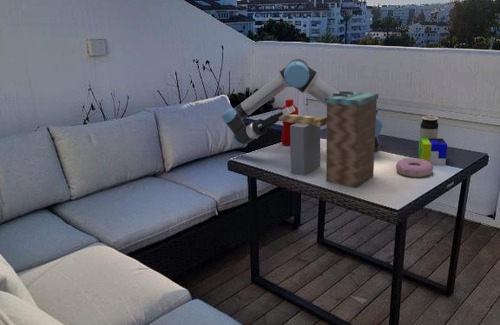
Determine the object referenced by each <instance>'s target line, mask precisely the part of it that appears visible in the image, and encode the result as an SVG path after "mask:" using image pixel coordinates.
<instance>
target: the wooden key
mask: <svg viewBox="0 0 500 325" xmlns="http://www.w3.org/2000/svg"><path fill="white" fill-rule="evenodd" d="M278 119H279V120H278V122H283V121H284V122H292V123H301V124H309V125H314V126H316V127H320V128H321V127H323V126H324V127H325V126H327V116H323V115H322V116H314V115H313V116H312V115H302V114H298V115H294V114H287V115H285V116H283V117H281V118H279V117H278Z"/></svg>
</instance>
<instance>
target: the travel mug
mask: <svg viewBox="0 0 500 325" xmlns="http://www.w3.org/2000/svg"><path fill="white" fill-rule="evenodd" d="M421 119H422V121H421V123H420V128H419V129H420V130H419V139H420V138H438V136H439V135H438V132H439V123H438V120H439V117H437V116H433V115H424V116H421ZM418 144H419V145H418V148H419V147H420V140H419V143H418Z"/></svg>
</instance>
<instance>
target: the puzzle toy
mask: <svg viewBox="0 0 500 325" xmlns="http://www.w3.org/2000/svg"><path fill="white" fill-rule="evenodd" d="M419 141H420V147H419V146H418V159H423V160H426V161H428V162H430V163H431V165H432V166H446V162H447V151H448V143H447V142H446V141H445V139H444V138H438V137H437V138H420V137H419Z"/></svg>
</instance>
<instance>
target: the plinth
mask: <svg viewBox="0 0 500 325" xmlns="http://www.w3.org/2000/svg"><path fill="white" fill-rule="evenodd" d="M320 167H321V127H316V126H314V125H309V124H301V123H296V124H293V125H290V173H292V174H295V175H296V174H297V175H300V176H305V175H307V174H310V173H311V172H313V171H315V170H316V169H318V168H320Z"/></svg>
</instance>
